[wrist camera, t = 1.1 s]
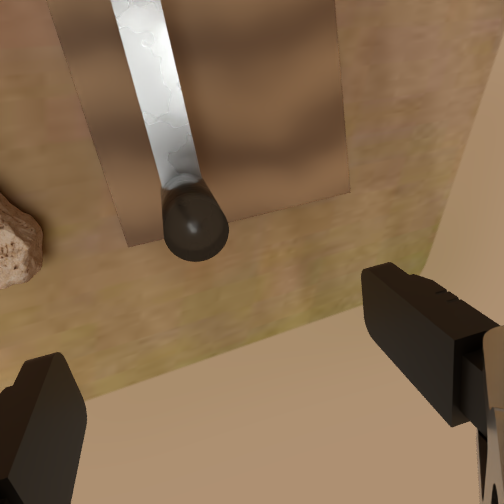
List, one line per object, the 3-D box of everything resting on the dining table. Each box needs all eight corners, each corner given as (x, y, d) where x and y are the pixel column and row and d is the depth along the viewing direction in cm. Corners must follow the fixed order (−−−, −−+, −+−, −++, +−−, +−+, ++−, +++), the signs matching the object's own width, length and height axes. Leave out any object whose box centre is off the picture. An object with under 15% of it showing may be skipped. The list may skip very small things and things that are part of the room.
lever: (53, -165, 19) (-16, -343, 11) (130, -174, 19) (114, -349, 12) (162, 218, 27) (166, 270, 19) (215, 206, 27) (240, 250, 19)
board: (-23, -220, 21) (-89, -336, 15) (305, -248, 23) (354, -357, 18) (129, 242, 31) (124, 274, 26) (344, 189, 34) (382, 208, 28)
